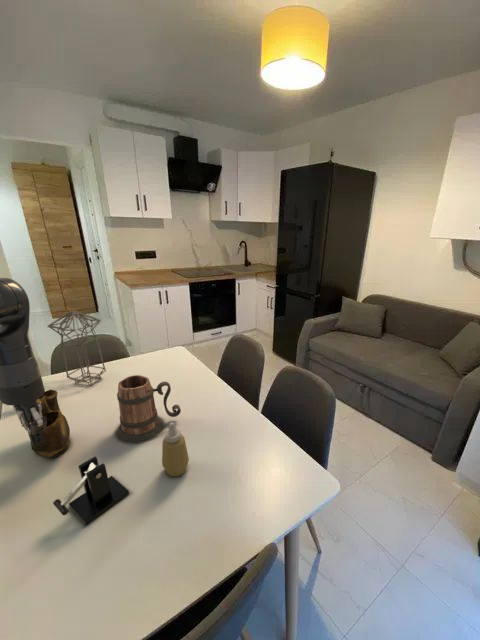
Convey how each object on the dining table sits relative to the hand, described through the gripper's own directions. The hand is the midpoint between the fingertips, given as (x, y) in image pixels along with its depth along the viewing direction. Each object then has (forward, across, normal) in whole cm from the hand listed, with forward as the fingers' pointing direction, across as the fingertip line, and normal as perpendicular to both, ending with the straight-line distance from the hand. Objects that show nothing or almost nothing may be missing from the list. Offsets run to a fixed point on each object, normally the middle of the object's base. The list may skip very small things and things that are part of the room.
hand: (38, 442), depth 67 cm
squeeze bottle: (+24, +12, +28) cm, 39 cm away
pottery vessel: (+24, -28, +9) cm, 38 cm away
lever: (+16, +4, +5) cm, 17 cm away
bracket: (+24, +4, +8) cm, 26 cm away
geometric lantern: (+25, -64, +38) cm, 79 cm away
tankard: (+24, -13, +36) cm, 45 cm away
